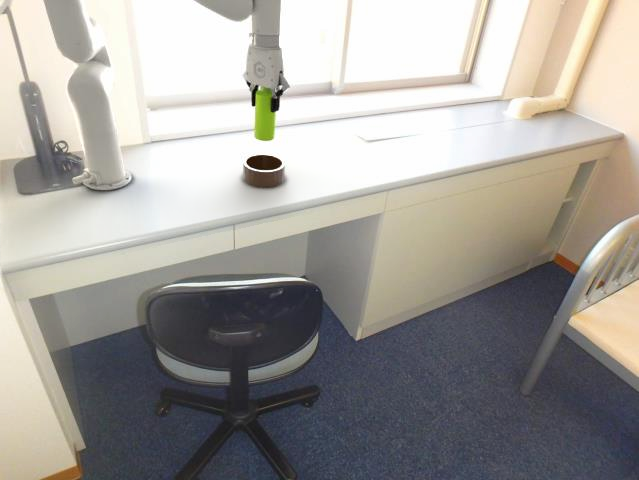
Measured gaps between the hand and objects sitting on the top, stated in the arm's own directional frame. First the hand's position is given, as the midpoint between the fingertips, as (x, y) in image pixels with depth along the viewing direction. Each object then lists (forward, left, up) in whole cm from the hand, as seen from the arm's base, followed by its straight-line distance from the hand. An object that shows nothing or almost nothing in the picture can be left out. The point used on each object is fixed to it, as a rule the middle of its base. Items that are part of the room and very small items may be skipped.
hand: (265, 107), depth 126 cm
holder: (0, 0, -23) cm, 23 cm away
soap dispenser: (0, 0, -9) cm, 9 cm away
